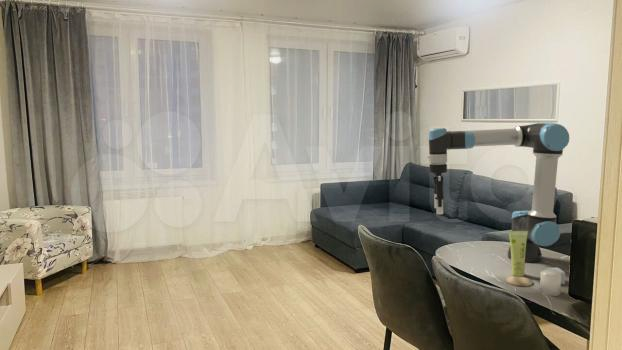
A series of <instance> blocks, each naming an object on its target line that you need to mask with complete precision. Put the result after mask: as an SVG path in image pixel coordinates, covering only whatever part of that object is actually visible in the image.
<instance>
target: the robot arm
mask: <svg viewBox="0 0 622 350" xmlns="http://www.w3.org/2000/svg"><path fill="white" fill-rule="evenodd" d="M428 132H429V133H428V152H429V154H428V156H427V159H429V165H428V166H429V167H428V169H429V173H431V174H433V175H434V176H432V177H433V178H432V179H433V187H434V188H433V193H434V196H433V197H434V198H433V200H434V201H433V202H434V203H433V205H434V209H436V215H444V198H445V197H444V187H443V186H444V176H442V174H445V173H447V172H448V165H447V162H448V150H467V149H472V148H473V149H474V147H490V146H491V147H493V146H495V147H496V146H513V145H514V146H515V147H516V148H517V147H518V148H519V147H523V148H530V149H532V154H533V155H534V156H535V169H534V179H533V180H534V181H533V191H532V192H533V193H532V202H531V203H532V204H531V209H530V210H515V211H513V212H512V214H511V231H528V234H527V241H526V251H525V263H538V262H540V261H542V259H543V254H542V250H541V248H540V246H541V247H542V246H543V247H549V246H553V244H555V243H556V242H557V241H558V240H559V238H560V236H561V228H560V227H559V225H558V223H557V215H556V214H555V213H554V207H555V206H554V204H555V195H556V184H557V183H556V182H557V176H558V175H557V173H558V163H559V158H561V157H562V156H563V151H564V149H565V148H566V147H567V146H568V145H569V142H570V134H569V131H568V129H567V128H566V127H565V126H564V125H562V124H559V123H555V122H554V123H553V122H549V123H544V122H543V123H542V122H541V123H540V122H539V123H531V124H527V125H515V127H514V128H499V129H474V130H454V131H451V130H449V131H448V129H446V128H444V127H442V128H441V127H440V128H431V129H430V130H429V131H428ZM507 258H508V259H510V260H511V246H510V245H509V247H508V249H507Z"/></svg>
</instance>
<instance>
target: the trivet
mask: <svg viewBox="0 0 622 350" xmlns="http://www.w3.org/2000/svg"><path fill="white" fill-rule="evenodd" d="M505 283H507V284H509V285H512V286H515V287H530V286H533V280H532V279H530V278H528V277H524V276H514V275H511V276H508V277H505Z"/></svg>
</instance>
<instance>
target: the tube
mask: <svg viewBox="0 0 622 350" xmlns="http://www.w3.org/2000/svg"><path fill="white" fill-rule="evenodd" d="M527 234H528V231H512V230H508V235H509V247H510V246H511V259H510V261H511V263H510V264H511V276H520V277H524V276H525V269H526V268H525V267H526V266H525V264H526V262H525V251H526V241H527Z"/></svg>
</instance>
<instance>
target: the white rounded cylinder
mask: <svg viewBox="0 0 622 350" xmlns="http://www.w3.org/2000/svg"><path fill="white" fill-rule="evenodd" d="M539 279H540V280H539V281H540V282H539V283H540V285H539V289H540V290H539V292H540V293H541V295H543V296H544V295H545V296H547V297H549V296H550V297H559V296H561V292H562V291H561V289H562V287H561V286H562V284H561V273H560V272H558V271H554V270H543V269H542V270H540V277H539ZM558 295H559V296H558Z"/></svg>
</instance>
